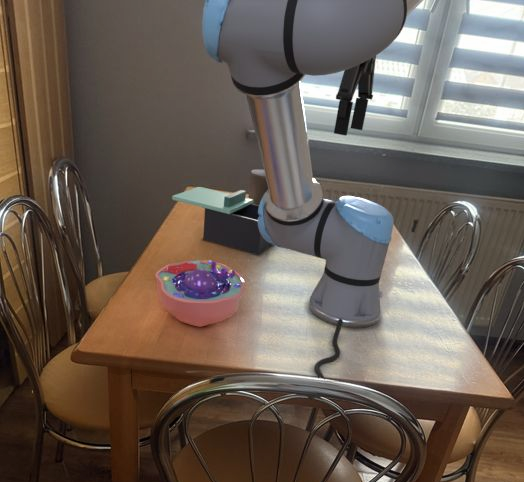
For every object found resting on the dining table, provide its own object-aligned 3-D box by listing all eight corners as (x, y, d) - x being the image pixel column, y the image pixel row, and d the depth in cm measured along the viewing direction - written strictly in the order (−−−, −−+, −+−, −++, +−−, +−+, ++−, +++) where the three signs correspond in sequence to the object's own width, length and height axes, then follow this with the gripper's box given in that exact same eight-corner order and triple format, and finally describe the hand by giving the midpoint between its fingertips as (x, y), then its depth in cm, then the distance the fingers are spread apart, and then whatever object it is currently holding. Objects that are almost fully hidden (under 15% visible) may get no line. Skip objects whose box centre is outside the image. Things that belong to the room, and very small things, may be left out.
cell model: (242, 299, 109) (247, 249, 104) (239, 347, 92) (245, 290, 86) (163, 291, 108) (164, 240, 102) (145, 337, 91) (145, 279, 85)
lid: (229, 214, 131) (230, 200, 129) (171, 199, 136) (172, 186, 134) (252, 203, 143) (254, 190, 141) (199, 190, 148) (199, 177, 146)
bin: (258, 255, 133) (262, 222, 129) (203, 239, 138) (204, 207, 134) (277, 241, 144) (282, 210, 140) (226, 227, 149) (228, 197, 145)
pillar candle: (272, 223, 158) (278, 174, 150) (242, 217, 159) (247, 168, 152) (279, 215, 166) (286, 168, 158) (251, 210, 168) (256, 163, 160)
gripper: (374, 16, 92) (349, 140, 103) (399, 27, 113) (377, 129, 124) (335, 11, 95) (315, 133, 106) (366, 23, 115) (347, 124, 126)
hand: (348, 131), depth 115 cm, fingers open, 13 cm apart
